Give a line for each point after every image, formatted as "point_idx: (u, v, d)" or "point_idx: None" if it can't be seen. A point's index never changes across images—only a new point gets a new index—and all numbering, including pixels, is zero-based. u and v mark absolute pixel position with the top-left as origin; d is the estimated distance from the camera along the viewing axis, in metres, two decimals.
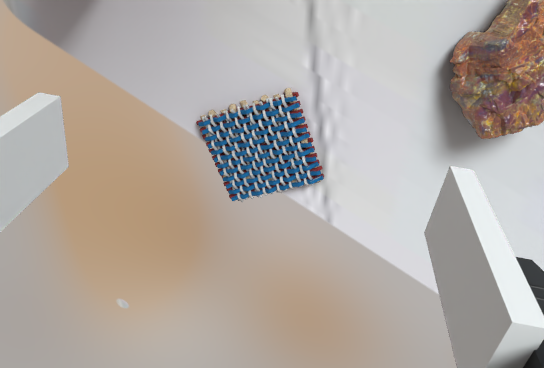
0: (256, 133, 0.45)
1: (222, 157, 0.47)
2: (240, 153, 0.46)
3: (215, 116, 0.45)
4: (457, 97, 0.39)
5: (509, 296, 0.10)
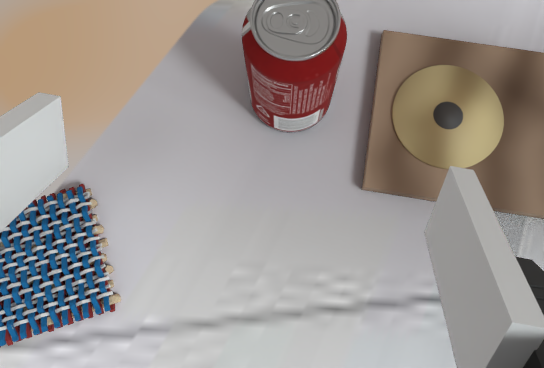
0: (63, 259, 0.36)
1: (33, 213, 0.37)
2: (37, 237, 0.36)
3: (88, 208, 0.37)
4: None
5: (509, 296, 0.10)
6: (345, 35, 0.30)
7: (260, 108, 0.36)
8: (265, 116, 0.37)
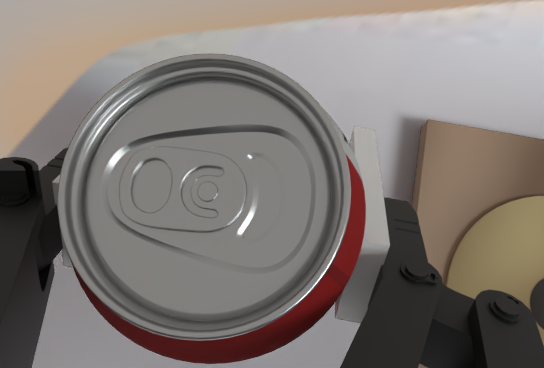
0: None
1: None
2: None
3: None
4: None
5: None
6: (362, 218, 0.10)
7: None
8: None
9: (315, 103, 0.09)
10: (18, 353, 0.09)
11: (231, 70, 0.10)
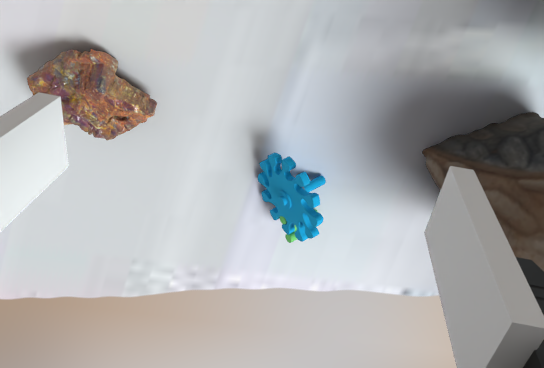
0: None
1: None
2: None
3: None
4: (61, 56, 0.46)
5: (509, 296, 0.10)
6: None
7: None
8: None
9: None
10: None
11: None
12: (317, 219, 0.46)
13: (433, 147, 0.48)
